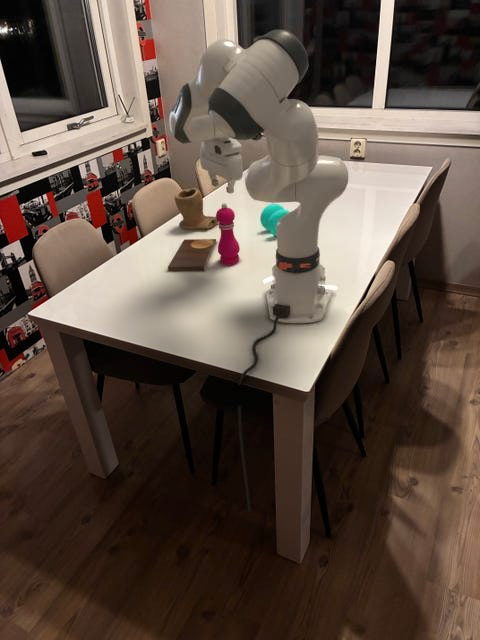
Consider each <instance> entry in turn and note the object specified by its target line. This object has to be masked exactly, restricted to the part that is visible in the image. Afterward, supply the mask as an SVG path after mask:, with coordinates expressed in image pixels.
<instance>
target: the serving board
mask: <svg viewBox="0 0 480 640" xmlns="http://www.w3.org/2000/svg"><path fill="white" fill-rule="evenodd" d="M217 242H218V241H217V239H216V238H200V239H199V238H195V239H194V238H193V239H191V238H190V239H183V241H182V243H181V244H180V246H179V247H178V249H177V251H176V252H175V254H174V256H173V257H172V259H171V260H170V262H169V264H168V266H167V270H168V272H203V271H205V269H206V267H207V265H208V262H209V260H210V258H211V256H212V254H213V252H214V249H215V247H216V245H217V244H218V243H217Z"/></svg>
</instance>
